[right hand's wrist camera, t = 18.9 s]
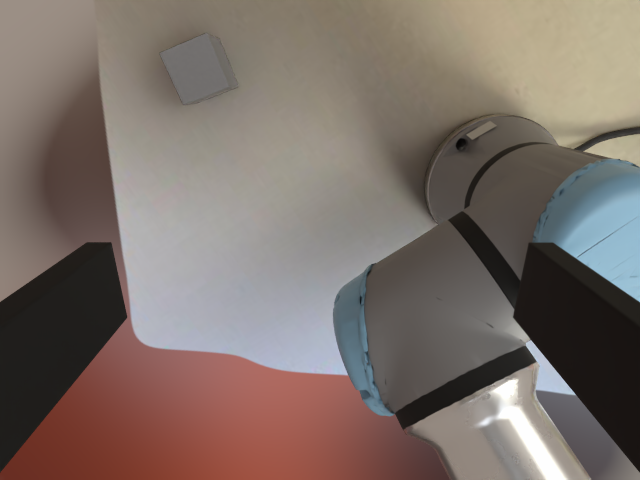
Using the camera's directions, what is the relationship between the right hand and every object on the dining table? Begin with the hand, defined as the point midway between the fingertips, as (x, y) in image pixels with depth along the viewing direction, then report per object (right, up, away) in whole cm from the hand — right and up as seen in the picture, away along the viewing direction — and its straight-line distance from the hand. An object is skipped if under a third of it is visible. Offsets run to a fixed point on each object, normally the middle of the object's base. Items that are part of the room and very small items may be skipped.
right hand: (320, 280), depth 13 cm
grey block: (-12, +19, +30) cm, 37 cm away
